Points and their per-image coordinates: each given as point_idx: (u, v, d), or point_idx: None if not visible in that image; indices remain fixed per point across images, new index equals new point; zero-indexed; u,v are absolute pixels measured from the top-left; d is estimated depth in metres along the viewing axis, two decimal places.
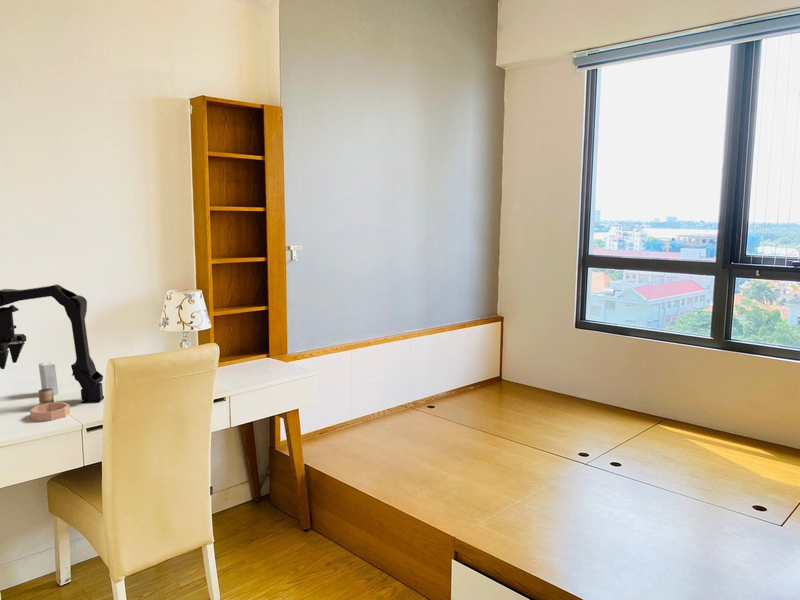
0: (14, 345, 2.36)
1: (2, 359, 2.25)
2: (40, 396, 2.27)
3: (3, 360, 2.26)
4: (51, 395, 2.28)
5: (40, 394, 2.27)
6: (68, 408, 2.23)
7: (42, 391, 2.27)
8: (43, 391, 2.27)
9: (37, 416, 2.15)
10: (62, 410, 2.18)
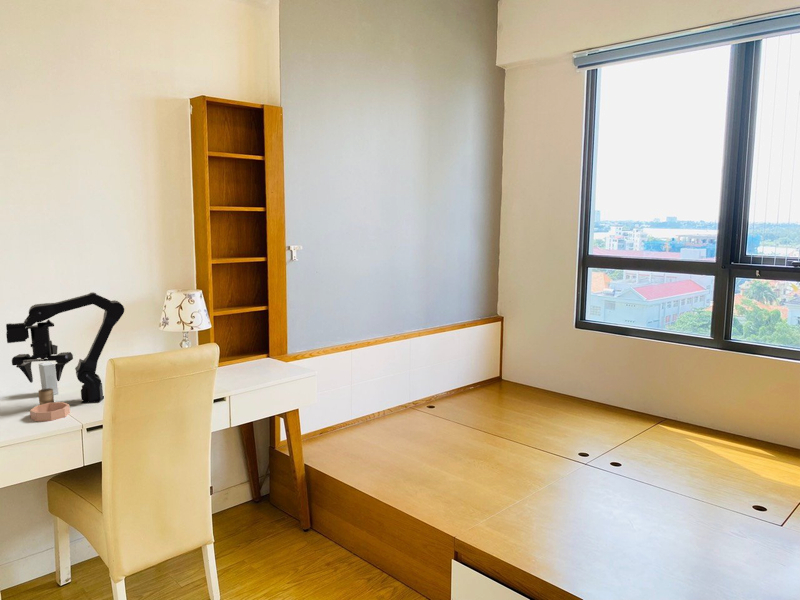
0: None
1: None
2: (40, 396, 2.27)
3: None
4: (51, 395, 2.28)
5: (40, 394, 2.27)
6: (68, 408, 2.23)
7: (42, 391, 2.27)
8: (43, 391, 2.27)
9: (37, 416, 2.15)
10: (62, 410, 2.18)
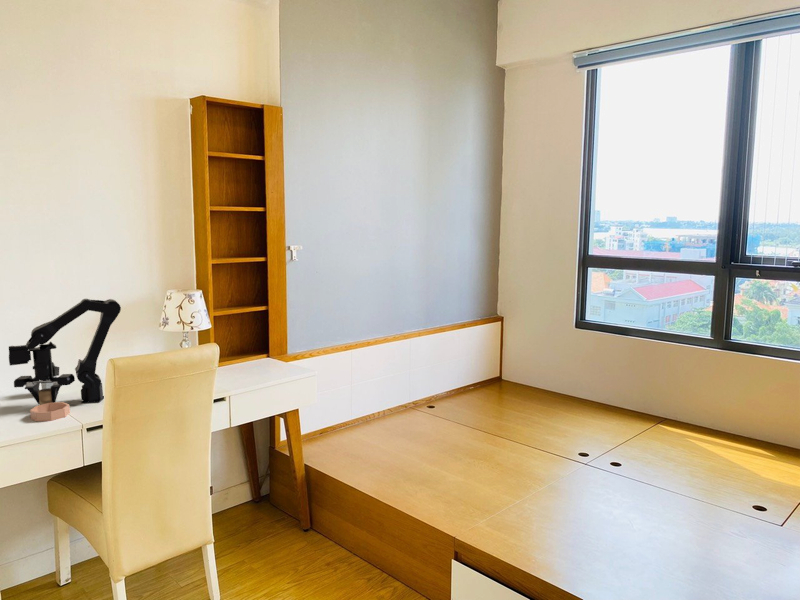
0: None
1: None
2: (40, 396, 2.27)
3: None
4: (51, 395, 2.28)
5: (40, 394, 2.27)
6: (68, 408, 2.23)
7: (42, 391, 2.27)
8: (43, 391, 2.27)
9: (37, 416, 2.15)
10: (62, 410, 2.18)
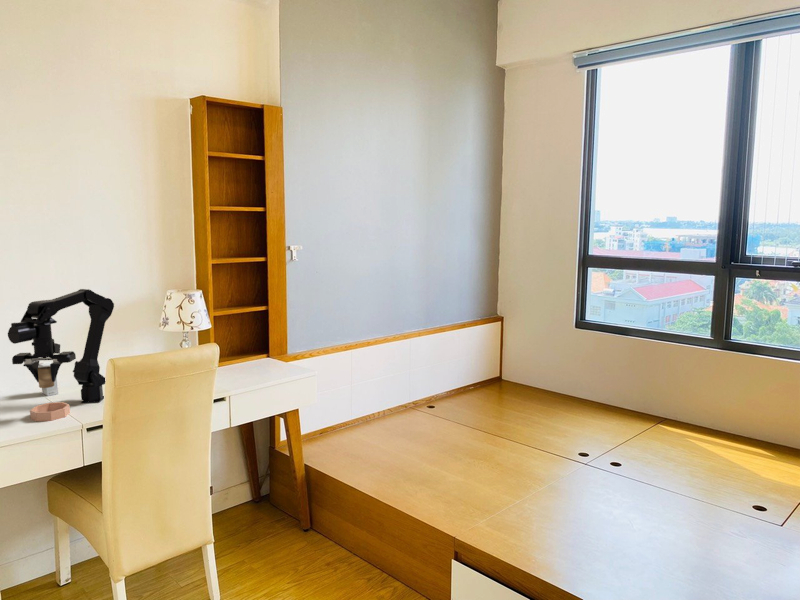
0: None
1: None
2: (39, 374, 2.17)
3: None
4: (50, 373, 2.18)
5: (39, 372, 2.17)
6: (68, 408, 2.23)
7: (41, 369, 2.17)
8: (42, 369, 2.17)
9: (37, 416, 2.15)
10: (62, 410, 2.18)
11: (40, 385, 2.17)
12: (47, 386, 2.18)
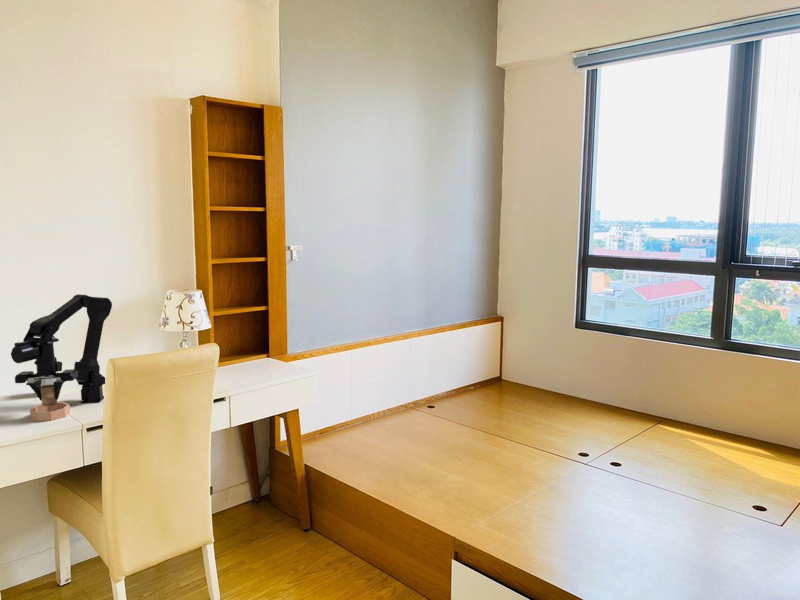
0: None
1: None
2: (42, 392, 2.17)
3: None
4: (53, 391, 2.19)
5: (42, 390, 2.17)
6: (68, 408, 2.23)
7: (44, 387, 2.18)
8: (45, 387, 2.18)
9: (37, 416, 2.15)
10: (62, 410, 2.18)
11: (43, 403, 2.18)
12: (50, 404, 2.18)
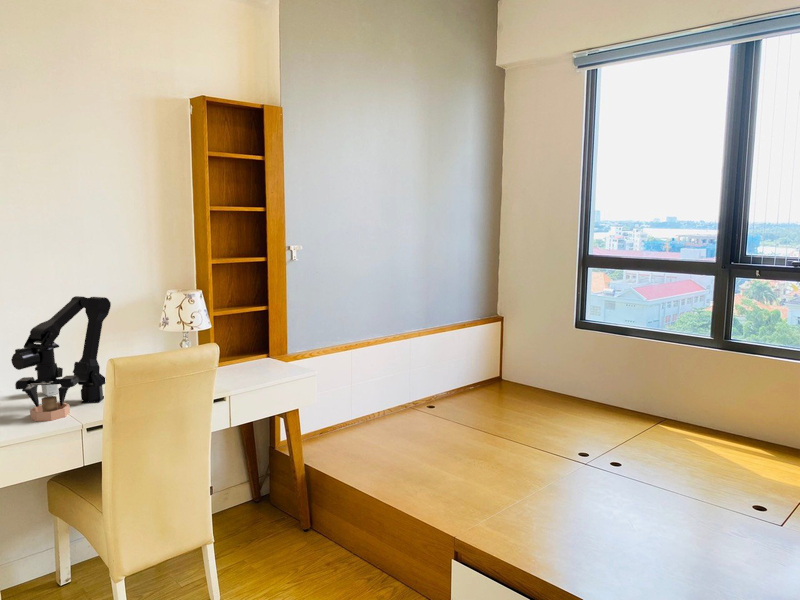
0: None
1: None
2: (43, 404, 2.18)
3: None
4: (54, 403, 2.19)
5: (43, 402, 2.18)
6: (68, 408, 2.23)
7: (45, 399, 2.18)
8: (46, 399, 2.18)
9: (37, 416, 2.15)
10: (62, 410, 2.18)
11: None
12: None
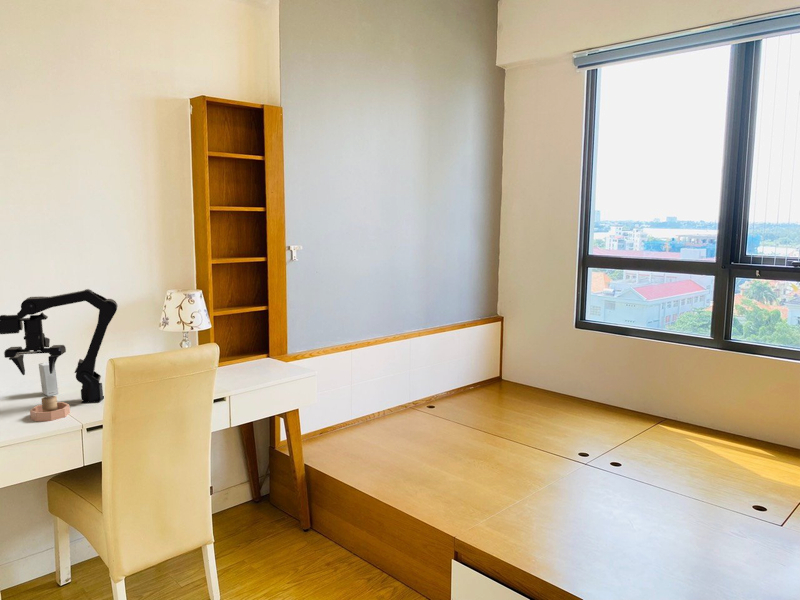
0: None
1: None
2: (43, 404, 2.18)
3: None
4: (54, 403, 2.19)
5: (43, 402, 2.18)
6: (68, 408, 2.23)
7: (45, 399, 2.18)
8: (46, 399, 2.18)
9: (37, 416, 2.15)
10: (62, 410, 2.18)
11: None
12: None
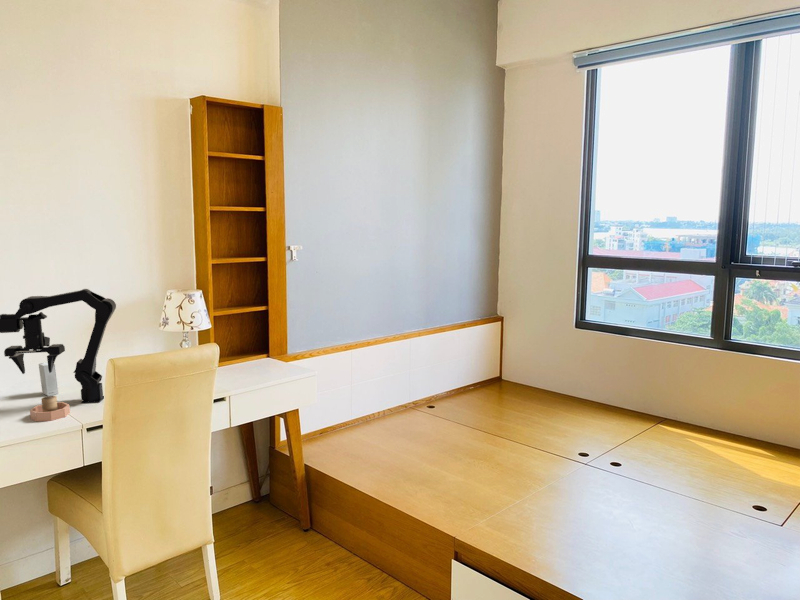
0: None
1: None
2: (43, 404, 2.18)
3: None
4: (54, 403, 2.19)
5: (43, 402, 2.18)
6: (68, 408, 2.23)
7: (45, 399, 2.18)
8: (46, 399, 2.18)
9: (37, 416, 2.15)
10: (62, 410, 2.18)
11: None
12: None
